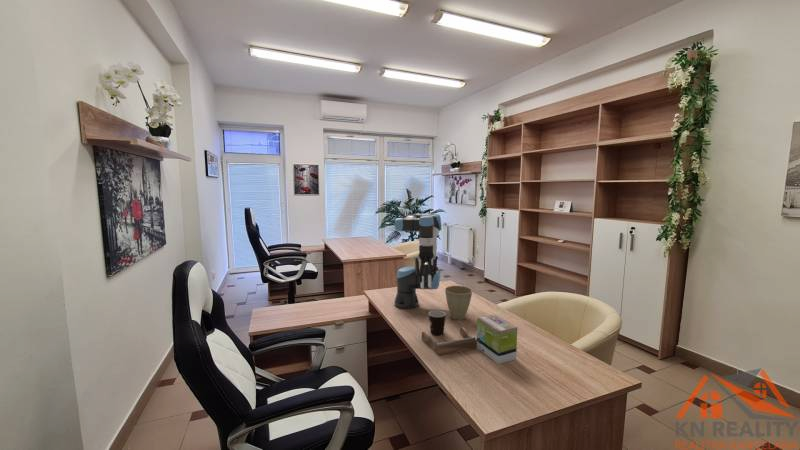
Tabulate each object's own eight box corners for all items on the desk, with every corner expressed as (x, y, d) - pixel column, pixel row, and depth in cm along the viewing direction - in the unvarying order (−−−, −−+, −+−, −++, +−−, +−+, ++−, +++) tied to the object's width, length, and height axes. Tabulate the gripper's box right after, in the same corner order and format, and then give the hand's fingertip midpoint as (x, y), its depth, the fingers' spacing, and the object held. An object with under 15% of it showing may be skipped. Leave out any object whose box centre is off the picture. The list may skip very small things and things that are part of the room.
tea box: (475, 348, 144) (476, 316, 142) (493, 344, 148) (494, 313, 146) (498, 365, 130) (499, 330, 128) (517, 359, 134) (518, 326, 132)
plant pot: (452, 324, 169) (453, 295, 167) (440, 313, 183) (440, 287, 181) (476, 320, 174) (477, 292, 172) (462, 310, 188) (463, 284, 186)
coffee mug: (445, 337, 154) (445, 317, 153) (427, 335, 156) (427, 316, 155) (446, 327, 165) (446, 308, 164) (429, 326, 167) (430, 307, 166)
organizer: (421, 340, 151) (421, 330, 151) (462, 333, 158) (462, 324, 158) (435, 356, 137) (435, 345, 136) (479, 348, 144) (479, 338, 143)
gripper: (414, 247, 164) (413, 291, 166) (443, 245, 169) (442, 287, 172) (409, 244, 171) (409, 286, 173) (437, 243, 176) (437, 283, 179)
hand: (425, 287), depth 173 cm, fingers open, 4 cm apart
